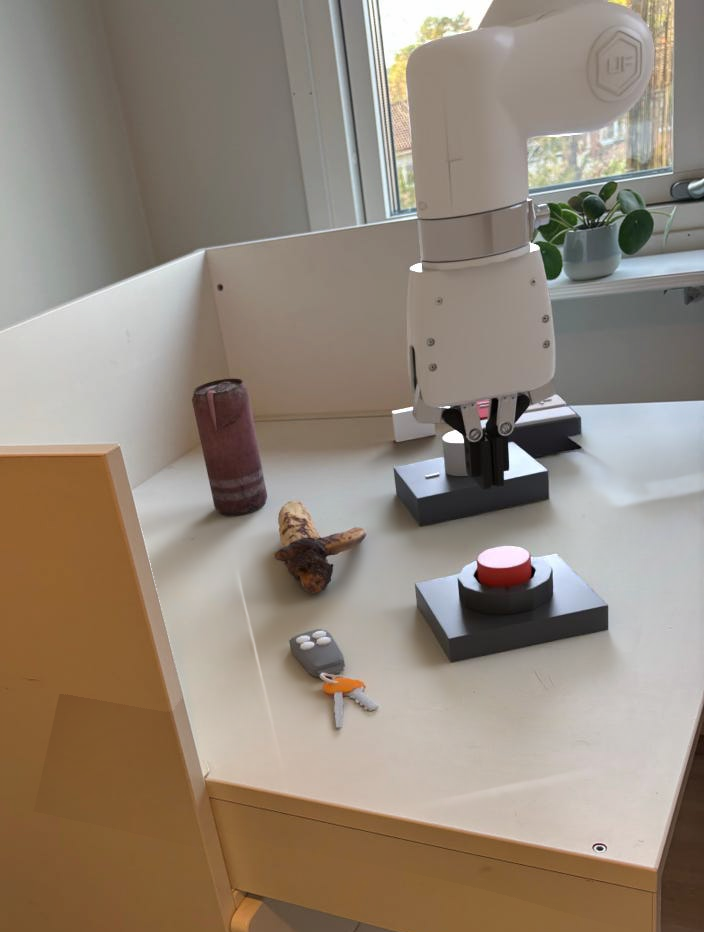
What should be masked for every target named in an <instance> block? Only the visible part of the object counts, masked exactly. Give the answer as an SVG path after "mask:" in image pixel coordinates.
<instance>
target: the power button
mask: <svg viewBox="0 0 704 932" xmlns="http://www.w3.org/2000/svg"><path fill="white" fill-rule="evenodd" d="M531 556H532V554H531V553H530V552H529V550H528V549H526V548H523V547H520V546H513V545H501V546H495V547H491V548H488V549H485V550H483V551H481V552H480V553H479V554H478V556H477V557H476V560H477V571H478V580H479V582H480V583H481V584H484V585H487V586H490V587H509V586H514V585H519V584H523V583H524V582H526V581H528V580H529V579H530V578H531V575H532V574H531Z"/></svg>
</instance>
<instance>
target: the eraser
mask: <svg viewBox="0 0 704 932" xmlns="http://www.w3.org/2000/svg"><path fill="white" fill-rule="evenodd" d="M412 411H413V406H410V407H405V408H400V409H396V410H391V418H392V419H391V420H392V426H393V435H394V440H395V442H396V443H400V442H405V441H410V440H411V441H412V440H416V439H421V438H426V437H430V436H436V435H437V434H436V424H429V423H419V422H418V421H417V420H416V419H415V418H414V417H413V415H412Z"/></svg>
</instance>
